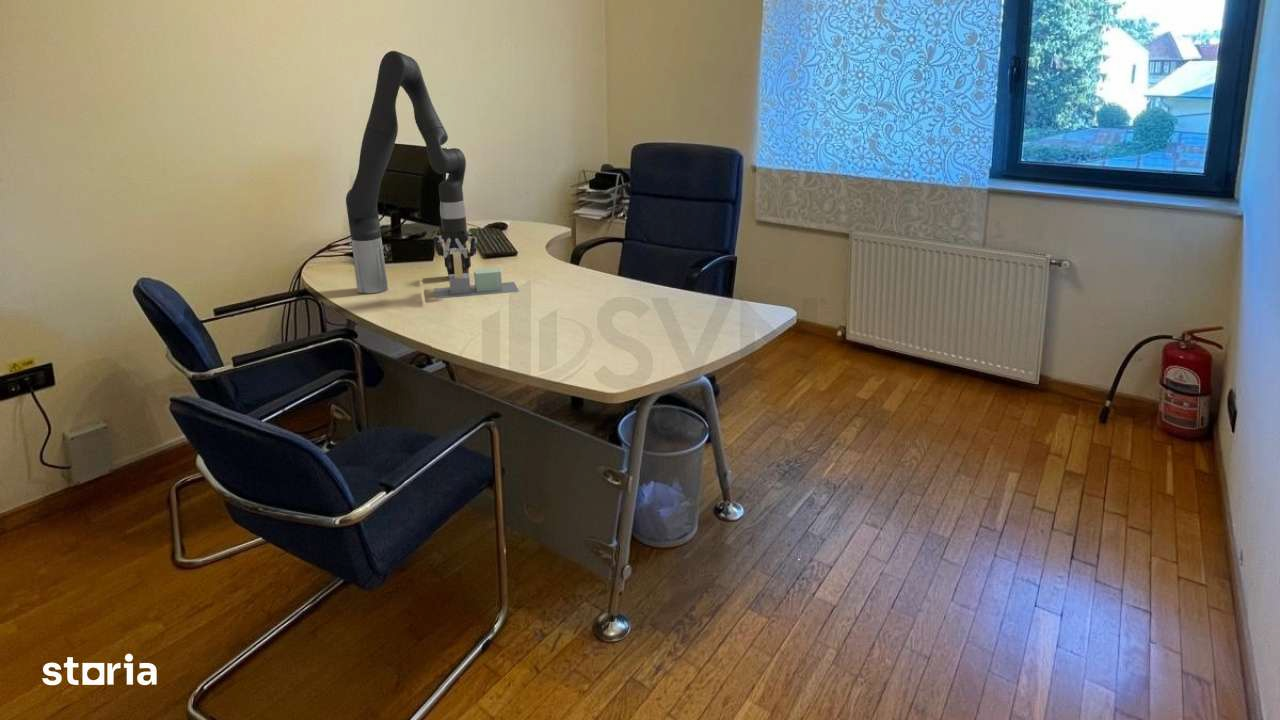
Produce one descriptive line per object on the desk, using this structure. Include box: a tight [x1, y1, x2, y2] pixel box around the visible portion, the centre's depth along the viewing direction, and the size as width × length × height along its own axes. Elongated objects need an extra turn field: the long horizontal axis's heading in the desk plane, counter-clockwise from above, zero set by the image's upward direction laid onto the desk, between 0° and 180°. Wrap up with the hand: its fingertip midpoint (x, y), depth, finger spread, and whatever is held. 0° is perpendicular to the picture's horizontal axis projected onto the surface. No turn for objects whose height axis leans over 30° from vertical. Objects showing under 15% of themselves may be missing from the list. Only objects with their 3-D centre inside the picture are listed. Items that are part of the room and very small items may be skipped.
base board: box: [433, 273, 520, 300], centre depth 256 cm, size 26×12×6 cm, turn 106°
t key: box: [453, 252, 463, 278], centre depth 253 cm, size 14×2×6 cm, turn 14°
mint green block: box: [473, 267, 503, 292], centre depth 257 cm, size 8×5×6 cm, turn 106°
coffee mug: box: [443, 248, 470, 277], centre depth 272 cm, size 12×9×10 cm
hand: (458, 268), depth 253 cm, fingers open, 5 cm apart
